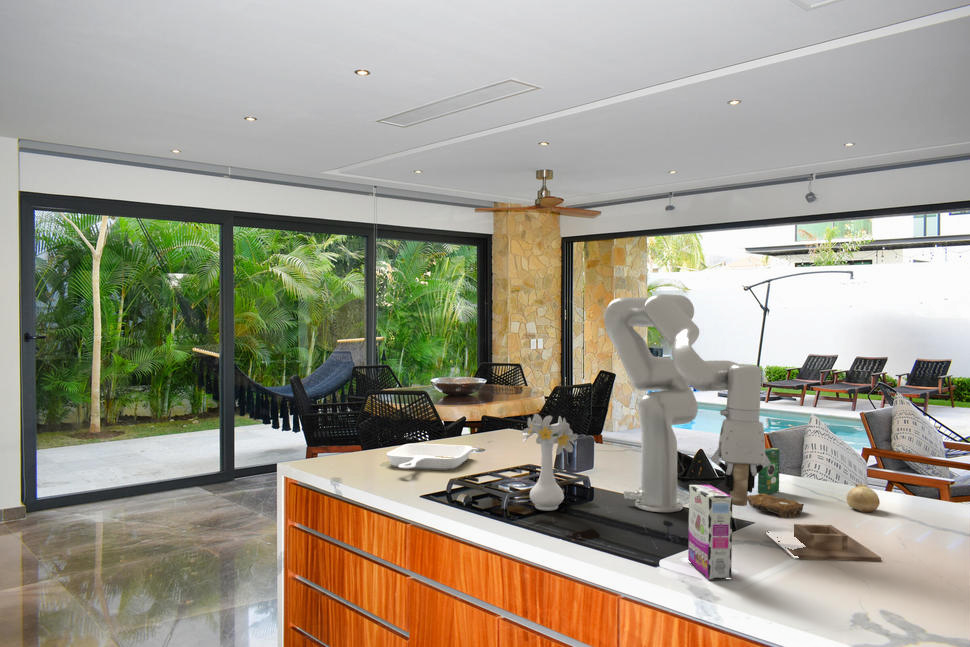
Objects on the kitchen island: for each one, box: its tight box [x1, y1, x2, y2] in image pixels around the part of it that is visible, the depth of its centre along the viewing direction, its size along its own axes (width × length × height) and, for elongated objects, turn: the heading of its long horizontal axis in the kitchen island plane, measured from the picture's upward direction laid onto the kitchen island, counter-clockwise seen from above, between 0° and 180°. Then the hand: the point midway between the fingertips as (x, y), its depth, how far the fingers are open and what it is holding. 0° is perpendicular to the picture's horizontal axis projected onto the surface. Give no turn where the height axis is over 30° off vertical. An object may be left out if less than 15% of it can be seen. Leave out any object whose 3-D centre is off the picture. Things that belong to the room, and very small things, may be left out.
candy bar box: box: [687, 484, 733, 581], centre depth 142 cm, size 11×5×16 cm, turn 5°
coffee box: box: [757, 447, 780, 495], centre depth 210 cm, size 8×3×13 cm, turn 129°
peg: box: [729, 464, 749, 507], centre depth 170 cm, size 4×4×12 cm
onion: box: [845, 482, 881, 513], centre depth 190 cm, size 8×8×7 cm
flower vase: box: [521, 413, 579, 512], centre depth 190 cm, size 13×18×25 cm
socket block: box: [766, 523, 882, 562], centre depth 158 cm, size 18×18×4 cm
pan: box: [386, 442, 474, 471], centre depth 245 cm, size 27×42×5 cm, turn 167°
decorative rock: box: [747, 493, 805, 518], centre depth 189 cm, size 11×4×15 cm
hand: (738, 489), depth 170 cm, fingers closed on peg, 4 cm apart
